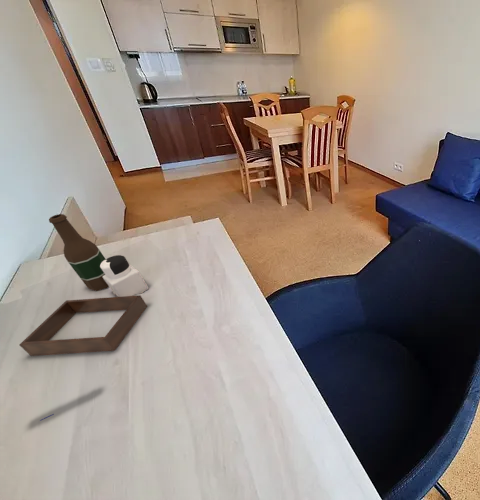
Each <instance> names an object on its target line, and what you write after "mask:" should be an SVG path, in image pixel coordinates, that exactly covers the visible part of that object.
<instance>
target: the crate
mask: <svg viewBox="0 0 480 500" xmlns="http://www.w3.org/2000/svg"><path fill="white" fill-rule="evenodd" d="M147 308H148V305H147V303H146V302H145V300H144V298H143V297H142V295H141V294H138V295H133V296H124V297H118V296H111V297H110V296H109V297H95V298H82V299H68V300H65V301H64V302H62V304H61V305H60V306H59V307H58V308H56V309H55V310H54V311H53V312H52V313H51V314H50V315H49V316H48V317H47V318H46V319H45V320H44V321H43V322H41V323H40V325H38V327H36V328H35V329H34V330H33V331H31V333H30V334H28V336H26V337H25V338H24V340H22V342H20V343H19V346H20V347H21V348H22V349H23V350H24V351H25V352H26V353H27V354H28V355H29V356H31V357H39V356H52V355H68V354H69V355H71V354H84V353H85V354H86V353H99V352H114V351H116V350H117V349H118V348H119V346H120V344H121V343H122V342H123V340H124V339H125V338H126V336H128V334H129V333H130V331H131V330H132V328H133V327H134V325H135V324H136V323H137V321H138V320H139V318H141V316H142V315H143V313H144V312H145V311H146V309H147ZM111 311H124V312H123V313H122V315H121V316H120V317H119V318H118V319H117V321H116V322H115V323H114V324H113V325H112V327H111V329H110V330H108V332H107V333H106V334H105V336H97V337H95V336H93V337H81V338H66V339H53V337H54V336H55V335H56V334H57V333H58V332H59V331H60V330H61V329H62V328H63V327H64V326H65V325H66V324H67V323H68V322H69V321H70V320H71V319H72V318H73V317H74V315H76V314H82V313H83V314H84V313H97V312H111Z"/></svg>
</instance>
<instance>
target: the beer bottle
mask: <svg viewBox="0 0 480 500" xmlns="http://www.w3.org/2000/svg"><path fill="white" fill-rule="evenodd" d="M67 217H68V216H66V215H65V214H64V213H58V214H55V215H52V216H50V217H49V219H48V222H49V223H50V224H52V226H53V228H54V229H55V230H56V232H57V233H58V235H59V237H60V239H61V240H62V242H63V244H64V246H63V255H64V258H65V259H66V261H67V263H68V264H69V265H70V267H71V268H72V270H73V271H74V272H75V273H76V275H77V276H78V277H79V279H80V280H81V281H82V282H83V284H84V285H85V286H86V287H87V288H88V290H91V291H94V292H99V291H102V290H106V289H108V288H110V287H109V286H108V284H107V283H106V281H105V280H104V279H103V276H104V275H105V273H104V272H103V270H102V269H101V268H100V264H101V263H102V262H103V261H104V260H105V259H106V257H105V256H104V254H103V253H102V251H101V250H100V248H99V247H98V246H97V245H96V244H95V243H94V242H92V241H91V240H89V239H87V238H84V237H83V236H81V234H79V232H78V231H77V230H76V229H75V227H74V226H73V225H72V223H70V221H69V220H68V219H67Z"/></svg>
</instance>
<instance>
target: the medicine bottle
mask: <svg viewBox="0 0 480 500" xmlns="http://www.w3.org/2000/svg"><path fill="white" fill-rule="evenodd" d="M100 268H101V269H102V270H103V272H104V273H105V275H104V276H103V279H104V280H105V281H106V283H107V284H108V286H109V287H108V288H110V290H111V292H112V293H113V295H114V296H115V297H124V296H136V295H141V294H142V293H145V292H146V291H148V290H149V288H150V287H149V286H148V284H147V283H146V281H145V279H144V277H143V276H142V274H141V273H140V271H139V270H138V269H136V268H135V267H134V266H133V265H131V264H130V263H129V261H128V260H127V258H126V257H125V256H124V255H121V254H117V255H113V256H109V257H107V258H105V260H104V261H103V262H102V263H101V264H100Z"/></svg>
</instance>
